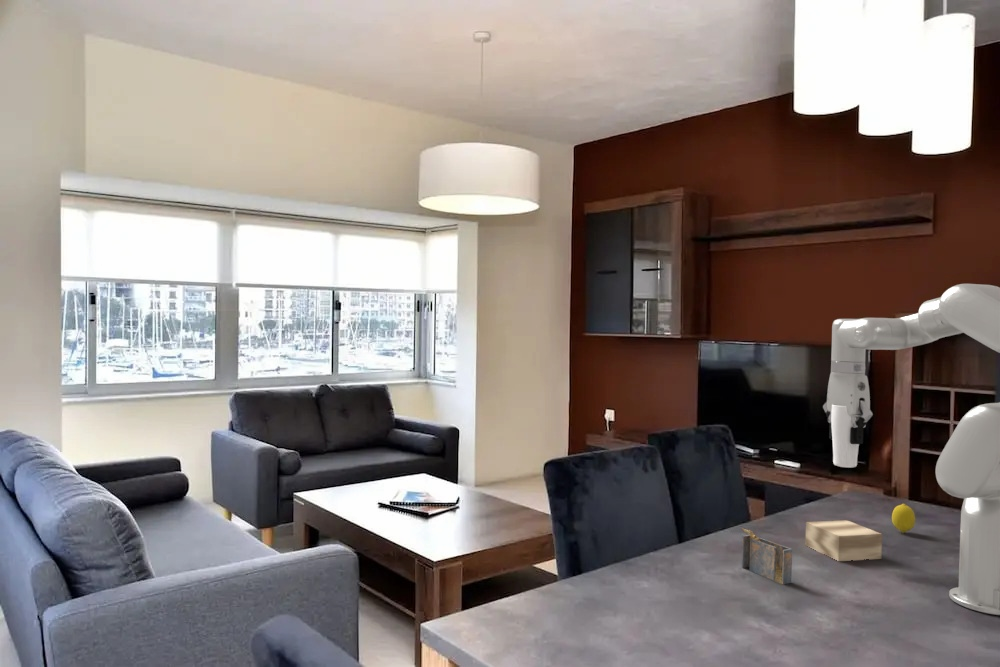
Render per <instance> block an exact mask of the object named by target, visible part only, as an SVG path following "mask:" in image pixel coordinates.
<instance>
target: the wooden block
mask: <svg viewBox="0 0 1000 667" xmlns="http://www.w3.org/2000/svg"><path fill="white" fill-rule="evenodd" d="M804 543H805V544H804V545H806V547H807V546H808V547H807V548H809V547H810V549H811V548H812V549H811V550H813V549H814V551H815V550H816V552H818V553H820V554H822V555H824V554H825V555H824V556H826V555H827V556H826V557H828V556H829V557H828V558H830V557H831V559H832V558H833V560H834V559H835V561H836V560H837V562H847V561H848V562H849V561H851V560H853V561H865V560H866V559H869V560H881V559H882V549H883V548H882V547H883V546H882V545H883V533H881V532H878V531H875V530H874V529H870V528H869V527H868V528H867V527H865V526H863V525H860V524H858V523H855V522H852V521H850V520H846V519H844V520H827V521H826V520H825V521H823V520H822V521H819V520H818V521H806V522H805V542H804ZM864 559H865V560H864ZM851 562H852V561H851Z"/></svg>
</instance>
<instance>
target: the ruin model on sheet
mask: <svg viewBox="0 0 1000 667" xmlns="http://www.w3.org/2000/svg"><path fill="white" fill-rule="evenodd" d="M741 529H742V530H743V532H744V533H746V534H748V535H742V542H741V543H742V545H741V546H742V547H741V569H744V568H749V572H752V573H755V574H757V575H759V576H762V577H764V578H767V579H769V580H772V581H773V582H775V583H778V584H780V585H785V584H790V583H792V572H793V571H792V570H793V569H792V568H793V548H791V547H787V546H785V545H783V544H782V545H781V544H779V543H776V542H773V541H770V540H767V539H764V538H761V537H759V536H757V535H755V533H753V530H751V529H749V530H748V529H747V528H746V529H745V528H744V527H742V528H741Z"/></svg>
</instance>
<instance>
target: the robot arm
mask: <svg viewBox="0 0 1000 667" xmlns="http://www.w3.org/2000/svg"><path fill="white" fill-rule="evenodd" d="M831 325H832V326H831V355H830V356H831V358H830V361H831V362H830V363H831V364H830V374H829V379H828V383H827V384H828V385H827V391H826V392H827V394H826V401H825V402H824V404H823V405H822V409H823V410H824V413H825V415H826V417H827V422H828V423H829V434H828V435H829V436H828V438H829V439H830V440H832V428H831V409H832V404H833V405H837V406H846V407H847V413H848V415H849V416H851V422H852V425H853V427H851V429H850V443H851V444H859V445H863V444H864V429H865V428H866V426H867V424H868V423H869V421H870V420H871V418H873V415H874V414H873V411H872V410H871V400H870V399H871V396H870V395H871V394H870V385H869V378H868V376H867V375H866V351H867V350H873V351H874V350H875V351H877V350H882V351H883V350H885V351H888V350H890V351H895V350H903V349H908V348H909V349H910V348H914V347H918V346H923V345H926V344H930V343H933V342H935V341H938V340H939V339H942V338H945V337H951V336H955V335H961V334H965V335H967V336H969V337H970V338H972V339H974V340H975V341H977V342H979V343H981V344H982V345H984V346H985V347H987V348H990V349H991V350H993V351H995V352H997V353H999V354H1000V287H999V286H997V285H991V284H981V283H980V284H978V283H977V284H976V283H960V284H956V285H953V286H951V287H949V288H947V289H946V290H945V291H944V292H943V293H942V295H941V296H940V297H936V298H933V299H930V300H929V299H928V300H926V301H923V303H921V305H920V306H919V309H918V312H916V313H913V314H908V315H906V316H902V317H897V318H893V317H891V318H890V317H889V318H888V317H863V318H837V319H834V320H833V322H832V324H831ZM856 410H858V411H860V414H856ZM856 417H858V418H859V419H858V421H857V420H856ZM935 478H936V481H937V483H938V485H939V487H940V488H941V489H942V491H944V492H945V493H946V494H948V495H950V496H952V497H955V498H958V499H963V502H962V506H961V511H960V525H959V526H960V527H959V528H960V530H959V531H960V532H959V534H960V535H959V558H958V559H959V565H958V587H957V586H956V587H953V588H951V589H950V590H949V592H948V593H949V599H951V601H952V602H955V603H956V604H957V605H960V606H962V607H965V608H967V609H970V610H973V611H976V612H980V613H984V614H989V615H996V616H1000V401H999V402H990V403H984V404H979V405H977V406H974V407H972V408H971V409H970V410H968V412H966V413H965V414H964V416H962V418H961V419H960V421H959V422H958V423H957V426H956V427H955V429H954V431H953V432H952V434H951V436H950V438H949V439H948V441H947V442H946V444H945V445H944V448H943V449H942V451H941V453H940V455H939V457H938V459H937V461H936V465H935Z"/></svg>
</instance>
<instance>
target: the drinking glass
mask: <svg viewBox="0 0 1000 667" xmlns="http://www.w3.org/2000/svg"><path fill="white" fill-rule="evenodd" d="M856 414H860V411H858V410H856ZM858 419H859V418H858V417H856V420H857V421H858ZM851 427H853V425H852V422H851V416H849V415H848V413H847V407H846V406H837V405H833V404H832V409H831V428H832V439H831V440H832V462H833V463H832V464H833V465H834V466H837V467H840V468H848V469H849V468H850V469H852V468H856V467H857V465H858V455H859V446H860V444H851V443H850V429H851Z"/></svg>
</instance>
